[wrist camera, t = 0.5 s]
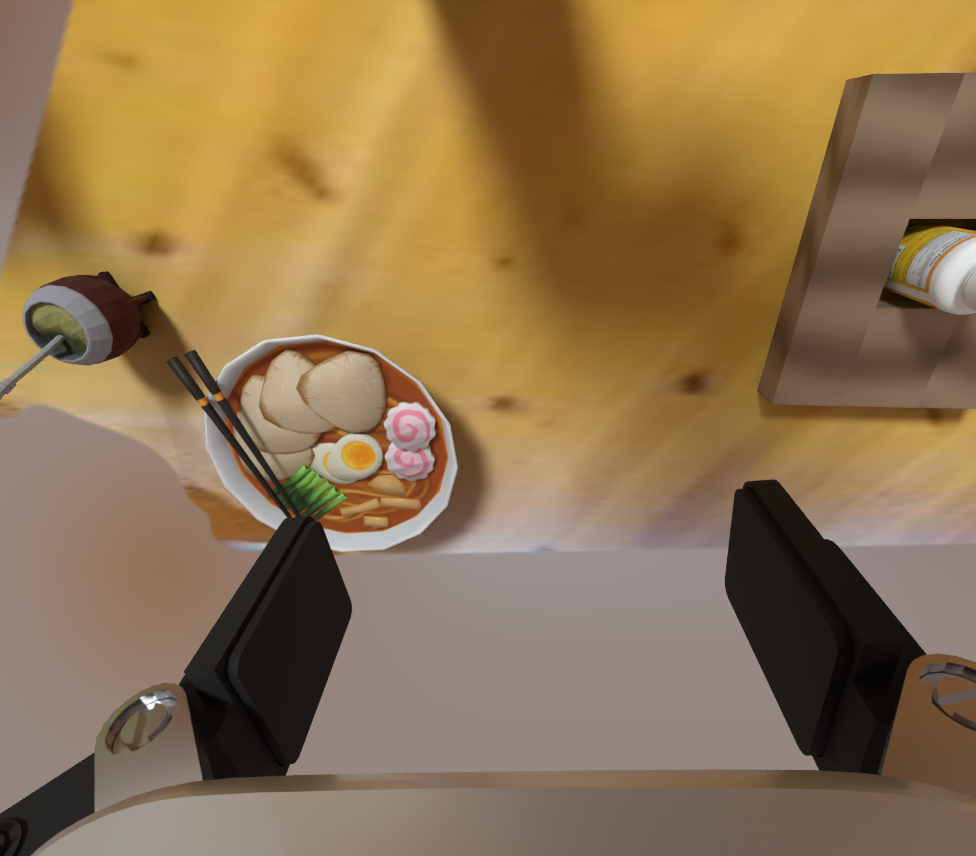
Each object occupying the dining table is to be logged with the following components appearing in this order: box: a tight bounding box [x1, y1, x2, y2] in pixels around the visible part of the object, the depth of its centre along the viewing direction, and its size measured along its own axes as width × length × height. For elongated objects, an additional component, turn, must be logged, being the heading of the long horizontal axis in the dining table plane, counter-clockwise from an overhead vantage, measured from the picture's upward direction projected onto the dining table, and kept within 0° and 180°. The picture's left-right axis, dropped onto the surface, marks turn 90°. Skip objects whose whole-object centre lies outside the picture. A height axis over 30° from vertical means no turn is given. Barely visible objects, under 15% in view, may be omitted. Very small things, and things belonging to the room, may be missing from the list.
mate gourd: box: [0, 271, 155, 400], centre depth 40 cm, size 8×8×15 cm
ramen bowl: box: [166, 334, 458, 553], centre depth 47 cm, size 25×23×8 cm
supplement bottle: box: [884, 224, 976, 315], centre depth 36 cm, size 5×5×10 cm
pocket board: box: [758, 73, 976, 409], centre depth 39 cm, size 24×18×3 cm
